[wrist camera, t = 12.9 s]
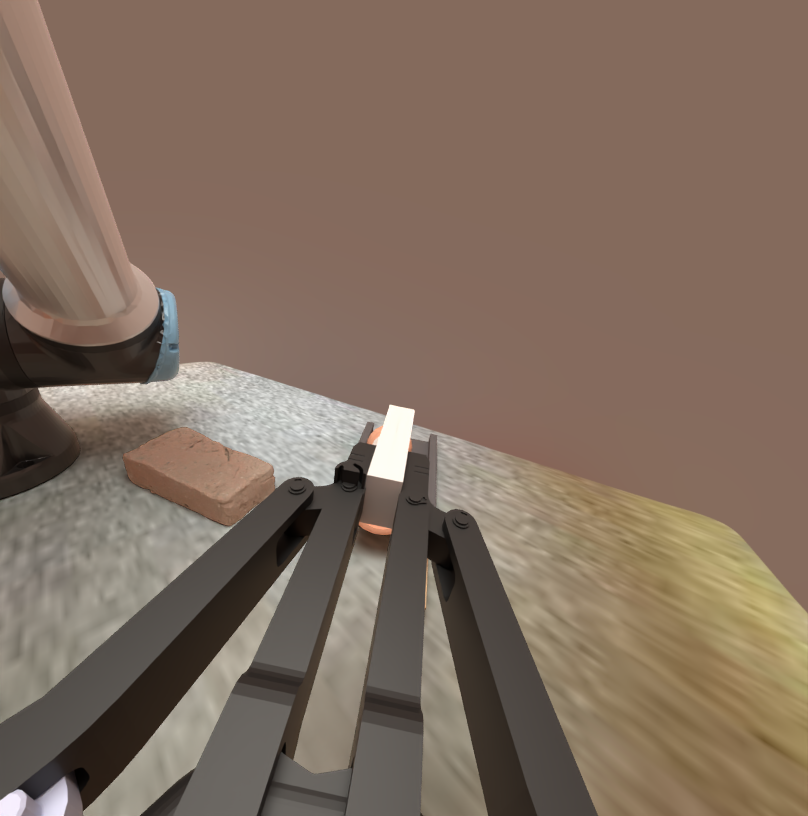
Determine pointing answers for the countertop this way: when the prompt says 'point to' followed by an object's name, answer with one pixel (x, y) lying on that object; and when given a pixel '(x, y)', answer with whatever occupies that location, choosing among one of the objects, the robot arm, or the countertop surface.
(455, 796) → the countertop surface
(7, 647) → the countertop surface
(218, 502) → the brick
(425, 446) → the grey tray
